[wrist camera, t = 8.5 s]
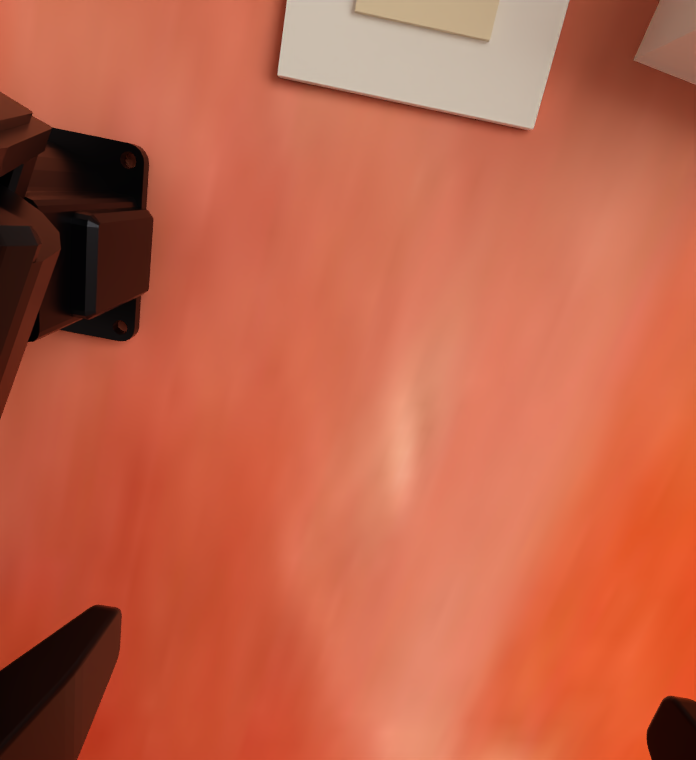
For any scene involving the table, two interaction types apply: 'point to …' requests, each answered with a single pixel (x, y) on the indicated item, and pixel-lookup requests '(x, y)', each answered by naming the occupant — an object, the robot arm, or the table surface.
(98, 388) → the table surface
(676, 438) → the table surface
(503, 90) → the tile
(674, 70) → the base block
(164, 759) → the table surface
